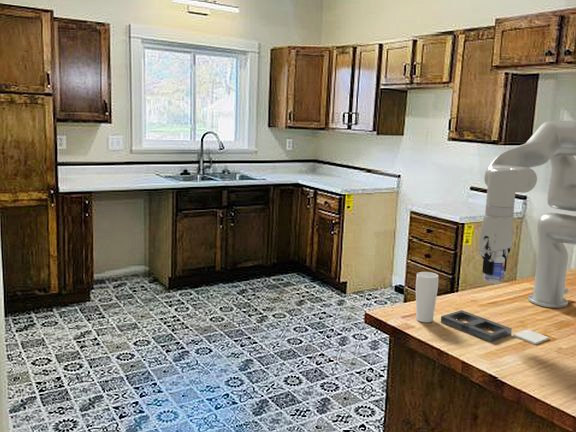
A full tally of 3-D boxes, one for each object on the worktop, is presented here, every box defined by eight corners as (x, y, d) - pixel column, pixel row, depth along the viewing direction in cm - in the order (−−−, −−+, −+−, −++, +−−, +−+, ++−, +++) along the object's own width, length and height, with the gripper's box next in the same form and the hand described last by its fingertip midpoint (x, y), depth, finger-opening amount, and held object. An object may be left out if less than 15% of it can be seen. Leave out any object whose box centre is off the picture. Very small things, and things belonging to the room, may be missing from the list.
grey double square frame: (461, 315, 175) (461, 310, 175) (511, 334, 161) (511, 328, 161) (440, 322, 170) (441, 316, 169) (490, 342, 155) (491, 335, 155)
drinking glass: (439, 320, 172) (442, 274, 169) (428, 326, 167) (432, 279, 164) (420, 314, 176) (423, 270, 173) (409, 320, 171) (412, 274, 168)
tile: (526, 331, 164) (526, 329, 164) (548, 339, 158) (549, 337, 158) (513, 336, 160) (513, 334, 160) (535, 344, 154) (535, 342, 154)
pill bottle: (504, 285, 156) (507, 252, 154) (484, 283, 157) (487, 251, 155) (501, 279, 161) (504, 247, 159) (482, 278, 162) (485, 246, 160)
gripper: (505, 206, 163) (500, 264, 166) (469, 212, 153) (464, 273, 157) (528, 210, 157) (522, 270, 160) (492, 216, 147) (487, 280, 150)
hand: (494, 271), depth 158 cm, fingers closed on pill bottle, 5 cm apart
